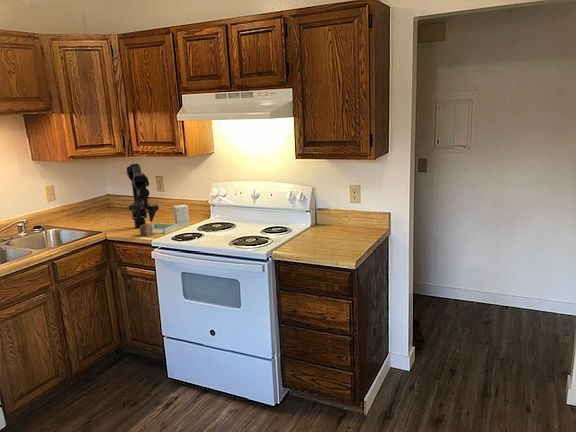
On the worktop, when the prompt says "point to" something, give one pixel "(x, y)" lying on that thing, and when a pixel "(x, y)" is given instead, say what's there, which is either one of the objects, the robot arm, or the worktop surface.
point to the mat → (147, 236)
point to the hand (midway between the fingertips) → (145, 221)
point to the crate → (163, 227)
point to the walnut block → (146, 229)
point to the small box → (181, 215)
